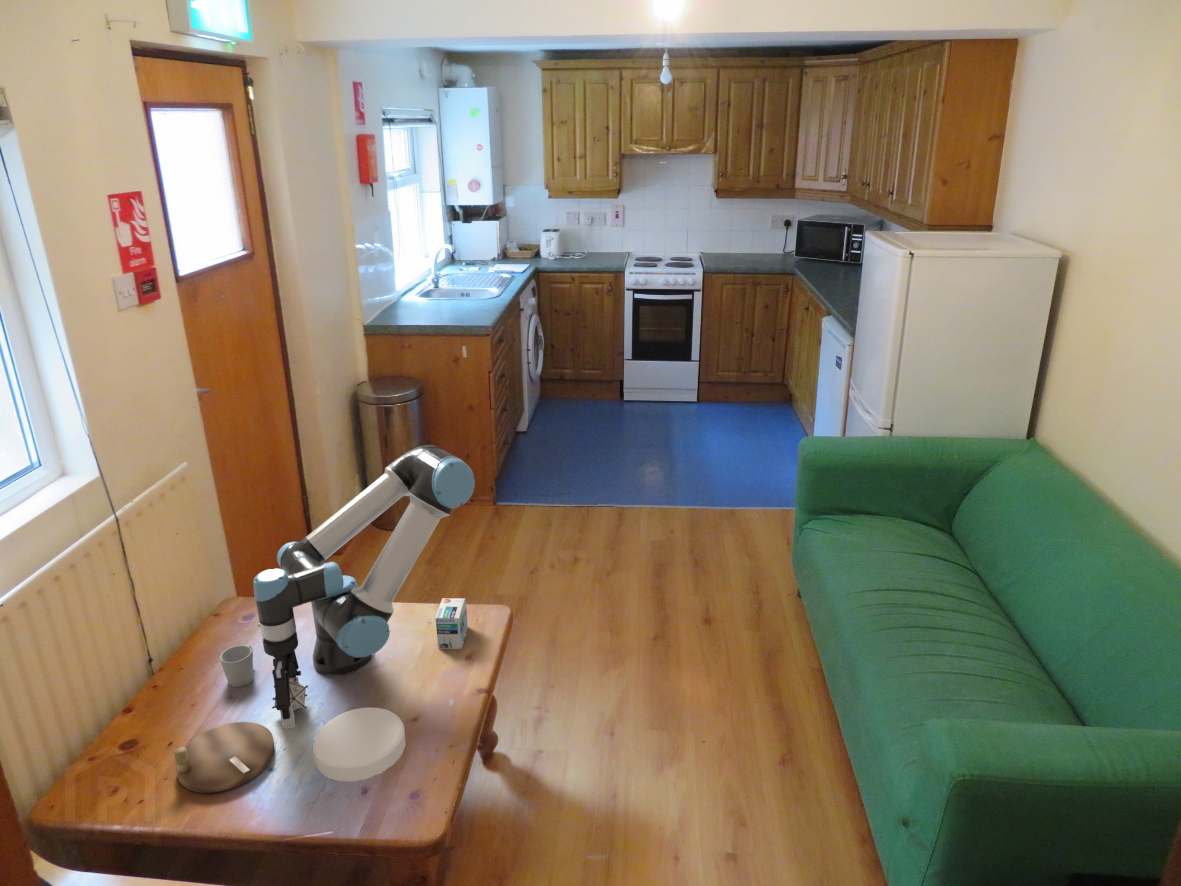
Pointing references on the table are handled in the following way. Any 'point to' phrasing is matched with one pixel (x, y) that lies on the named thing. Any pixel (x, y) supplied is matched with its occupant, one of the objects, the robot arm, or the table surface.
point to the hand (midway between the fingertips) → (292, 713)
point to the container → (359, 744)
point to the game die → (296, 695)
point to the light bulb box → (451, 623)
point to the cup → (238, 665)
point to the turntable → (224, 757)
